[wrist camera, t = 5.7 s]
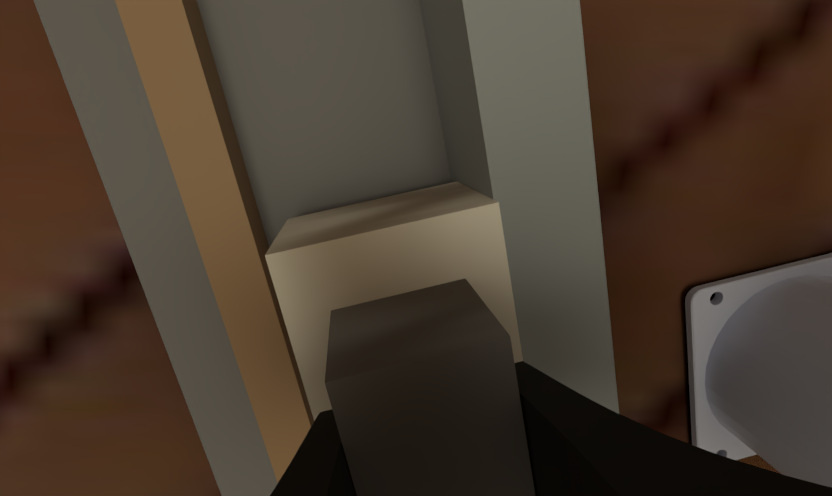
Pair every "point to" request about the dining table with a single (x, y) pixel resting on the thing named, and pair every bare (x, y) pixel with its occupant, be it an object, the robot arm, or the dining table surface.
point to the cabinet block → (409, 340)
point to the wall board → (330, 173)
